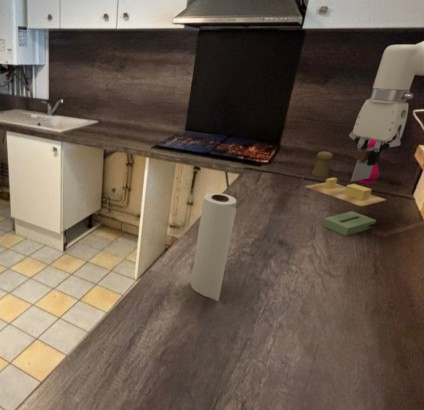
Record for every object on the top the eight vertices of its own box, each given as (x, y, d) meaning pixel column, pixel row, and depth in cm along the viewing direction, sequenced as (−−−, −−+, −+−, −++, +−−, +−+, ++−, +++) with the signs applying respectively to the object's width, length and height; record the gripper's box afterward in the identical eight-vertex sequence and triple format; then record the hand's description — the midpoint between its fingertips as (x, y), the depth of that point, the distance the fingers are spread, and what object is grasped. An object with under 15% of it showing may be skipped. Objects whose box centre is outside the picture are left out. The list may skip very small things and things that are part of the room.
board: (385, 203, 122) (387, 199, 122) (360, 210, 117) (361, 206, 116) (328, 185, 139) (329, 181, 138) (304, 190, 134) (305, 186, 133)
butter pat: (334, 187, 132) (337, 178, 131) (327, 189, 131) (330, 180, 129) (330, 186, 133) (333, 177, 132) (323, 187, 132) (326, 178, 130)
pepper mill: (355, 186, 137) (372, 135, 130) (349, 180, 144) (365, 131, 136) (377, 188, 135) (396, 136, 127) (370, 182, 142) (387, 132, 134)
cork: (323, 181, 142) (331, 154, 138) (307, 177, 147) (314, 151, 142) (329, 178, 146) (337, 152, 142) (313, 174, 150) (320, 149, 146)
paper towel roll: (191, 277, 82) (205, 190, 73) (219, 283, 80) (236, 194, 71) (188, 295, 76) (202, 202, 67) (218, 302, 74) (236, 207, 65)
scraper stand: (373, 227, 105) (376, 220, 104) (345, 236, 101) (348, 228, 100) (349, 218, 111) (351, 211, 110) (321, 225, 106) (324, 218, 106)
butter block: (368, 198, 122) (372, 189, 121) (361, 200, 121) (364, 191, 119) (350, 192, 127) (353, 183, 126) (343, 194, 126) (346, 185, 124)
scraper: (373, 178, 104) (384, 148, 100) (353, 182, 100) (364, 151, 97) (365, 176, 105) (375, 146, 102) (346, 180, 102) (355, 149, 99)
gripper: (433, 99, 88) (405, 170, 96) (364, 92, 102) (345, 155, 109) (415, 100, 86) (389, 173, 93) (347, 93, 99) (329, 157, 106)
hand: (365, 163), depth 101 cm, fingers closed on scraper, 2 cm apart
